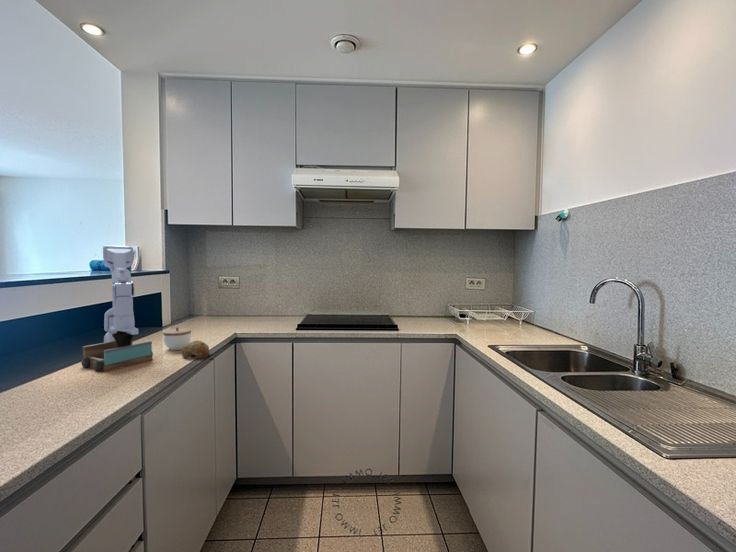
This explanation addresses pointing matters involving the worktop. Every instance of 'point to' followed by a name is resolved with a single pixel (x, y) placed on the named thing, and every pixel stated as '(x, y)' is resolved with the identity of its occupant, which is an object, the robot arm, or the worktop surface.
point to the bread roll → (195, 350)
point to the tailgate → (127, 352)
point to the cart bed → (95, 357)
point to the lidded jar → (176, 338)
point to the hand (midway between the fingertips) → (123, 352)
